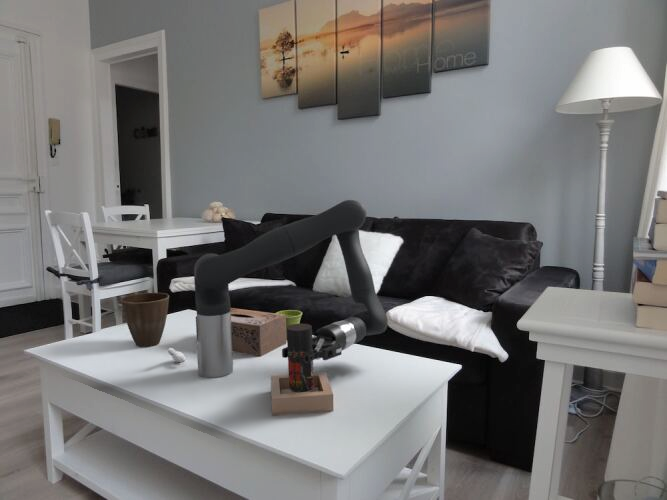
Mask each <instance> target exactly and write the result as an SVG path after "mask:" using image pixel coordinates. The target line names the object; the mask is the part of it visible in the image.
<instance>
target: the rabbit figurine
mask: <svg viewBox="0 0 667 500" xmlns="http://www.w3.org/2000/svg"><path fill="white" fill-rule="evenodd" d="M167 353H168V354H169V356H171V357H172V360H173V361H174V362H177V363H174V366H181V363H184V362H186V358H185V355H184V354H183V352H181V351H177V350H175V349H174V348H172V347H169V348H168V349H167Z"/></svg>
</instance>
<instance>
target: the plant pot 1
mask: <svg viewBox="0 0 667 500" xmlns="http://www.w3.org/2000/svg"><path fill="white" fill-rule="evenodd" d="M169 301H170V295H169V293H164V292H145V293H136V294H130V295H126V296H124V297H122V298H121V299H120V302H121V307H122V310H123V315H124V319H125V322H126V325H127V328H128V330H129V333H130V335H131V337H132V340H133V341H134V344H135V346H136V347H139V348H150V347H156V346H157V345H159V344H160V343H161V340H162V337H163V333H164V331H165V326H166V322H167V317H168V312H169V311H168V310H169Z"/></svg>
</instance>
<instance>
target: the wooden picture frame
mask: <svg viewBox="0 0 667 500" xmlns="http://www.w3.org/2000/svg"><path fill="white" fill-rule="evenodd" d="M326 372H327V371H321V372H313V378H314V388H313V389H312V390H310V391H307V392H293V391H291V390H290V389H289V373H288V374H276V375H275V374H273V375H270V396H271V415H272V416H282V415H283V416H284V415H297V414H308V413H321V412H323V413H324V412H334V393H333V389H332V387H331V384H330V380H329V378H328V376H327V373H326Z"/></svg>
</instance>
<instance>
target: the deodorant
mask: <svg viewBox="0 0 667 500" xmlns="http://www.w3.org/2000/svg"><path fill="white" fill-rule="evenodd" d="M312 328H313V326H312V325H311V324H308V323H300V324H292V325H289V326H288V327H287V340H286V342H287V343H286V344H287V346H286V347H288V357H287V366H288V367H287V369H288V370H287V371H288V372H287V373H288V374H289V389H290V390H291V391H293V392H307V391H310V390H312V389H313V388H314V378H313V373H314V360H312V361H310V362H308V363H303V354H304V353H306V352H309V351H311V350H313V348H312V336H313V329H312Z"/></svg>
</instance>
